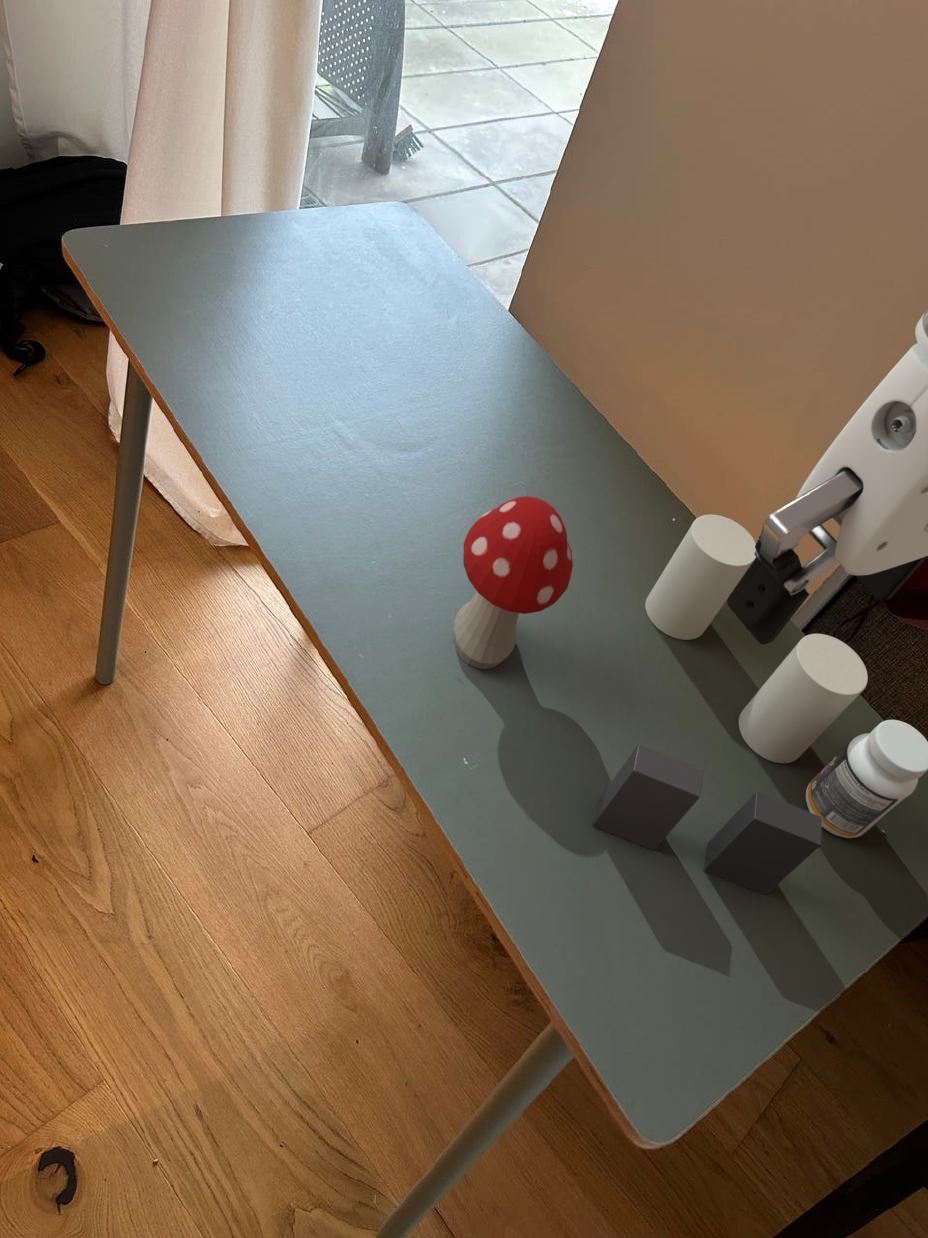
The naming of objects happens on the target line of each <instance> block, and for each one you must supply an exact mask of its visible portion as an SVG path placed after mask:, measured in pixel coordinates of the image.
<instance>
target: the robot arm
mask: <svg viewBox="0 0 928 1238" xmlns="http://www.w3.org/2000/svg"><path fill="white" fill-rule="evenodd" d="M914 335H915V340H916V343H915V344H913V345H912V346H911V347H910V348H909V350H907V351H906V353H905V354H904V355H903V356H902V357H901V358H900V360H898V362H896V364H895V365H894V367H892V369H891V370H890V371H889V372H888V373H887V375H886V376H885V377H884V378H883V379H881V381H880V382H879V384H878V385H877V386H876V387H875V389H874V390H873V391H872V392H871V393H870V395H869V396H868V397H867V398H866V399H865V401H864V402H862V404H861V406H860V407H859V408H858V410H857V411H856V412H855V413H854V414H853V416H852V417H851V418H850V419H849V421H848V422H847V423H846V425H845V426H844V427H843V429H841V430H840V432H839V433H838V434H837V436H836V438H835V439H834V440H833V442H831V444H830V445H829V446H828V448H827V450H826V451H825V452H824V453H823V455H822V456H821V458H820V459H819V461H818V462H817V463H816V465H815V466H814V467H813V469H812V471H811V472H810V473H809V475H808V477H807V478H806V480H805V482H804V483H803V485H802V486H801V487H800V489H799V491H798V493H797V495H796V498H795V499H793V500H792V501H790V502H788V503H787V504H785V505H783V506H781V507H779V508H777V509H776V510H775V511H773V512H772V513H770V514H769V515H768V516H767V517H766V518H765V519H764V520H763V523H762V527H761V532H760V535H759V536H758V539H757V541H756V542H755V543H756V545H755V549H756V551H755V553H754V554H755V556H756V558H755V560H754V561H753V563H752V564H751V565H750V567H749V568H748V570H747V571H746V573H745V574H744V575H743V577H742V578H741V580H740V581H739V583H738V584H737V585H736V587H735V588H734V590H733V591H732V593H731V594H730V596H729V597H728V599H727V600H726V603H727V606H728V608H729V609H730V611H731V612H732V613H733V614H734V615H735V616H736V617H737V618H738V620H739V621H740V623H742V625H743V626H744V627H745V628H746V629H747V630H748V632H749V633H750V634H751V636H753V637H754V640H756V641H757V642H758V644H759V645H767V644H770V643H772V642H774V641H775V640H776V638H777V637H778V636H779V635H780V633H781V632H782V631H783V629H784V628H785V627H786V626H787V624H788V623H789V622H790V620H791V619H793V617H794V616H795V614H796V613H797V611H798V610H799V609H800V608H801V606H802V605H803V604H804V602H805V601H806V600H807V599H808V597H809V596H810V595H811V594H809V592H808V591H807V589H806V588H807V587H808V586H810V585H811V584H812V583H814V582H815V581H816V580H817V579H819V578H820V577H821V576H822V575H823V574H825V573H826V572H827V571H828V570H830V569H831V568H833V567H834V566H835V565H836V564H837V563H838V564H839V565H841V566H842V567H843V571H844V572H845V573H846V574H848V575H851V576H855V577H856V578H857V580H858V581H859V582H860V583H861V584H862V585H863V586H864V587H865V588H866V589H867V590H868V591H869V593H870V594H871V595H872V596H873V597H875V599H876V600H878V601H880V602H884V601H888V600H890V599H892V598H893V597H894V596H895V594H896V593H897V592H898V591H899V590H900V589H901V588H902V586H903V585H904V584H905V583H906V582H907V581H908V580H909V578H910V577H911V576H912V575H913V574H914V572H916V570H917V569H918V568H919V567H920V566H921V564H923V562H924V561H925V560H926V559H927V558H928V308H927V309H926V310H925V312H923V314H922V316H921V317H920V319H919V320H918V321H917V322H916V325H915V328H914ZM831 519H833V520H834V521H835V523H837V524H838V526H840V527H839V532H838V535H837V539H836V538H835V537H834V536H833V535H832V534H831V532H829V531H828V529H826V528H825V527H824V526H823V524H824V523H826V522H828V521H830V520H831ZM807 534H809V535H810V536H811V538H813V539H814V540H815V541H816V543H817V544H818V545H819V546H820V547H821V548H822V551H821V552H820V553H818V554H816V556H814V557H813V558H811V559H810V560H809V561H808V562H807V563H805V564H804V565H802V563H801V560H800V556H799V555H798V554H797V552H796V551H795V548H797V547H798V545H799V543H800V541H801V540H802V539H803V537H805V535H807Z"/></svg>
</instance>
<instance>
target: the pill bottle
mask: <svg viewBox="0 0 928 1238" xmlns="http://www.w3.org/2000/svg"><path fill="white" fill-rule="evenodd" d="M926 772H928V740H927V738H926V737H925V736H924V735H923V734H922V733H921V732H920V731H919V730H917V728H915V727H913V726H912V725H910V724H909V723H908V722H904V721H901V720H897V719H887V720H883V721H882V722H880V723H879V724H877V725H876V726H875V727H874V728H873V729H872V730H871V731H870V732H867V733H862V734H859V735H857V736H855V737H853V738H852V739H851V740H850V741H849V742H848V743H847V744H846V745H845V746H844V747H843V748H842V749H841V751H839V752H838V753H837V754H836V755H835V756H834V757H833V758H832V760H830V761H829V762H828V763H827V764H826V765H825V766H824V767H823V768H822V769H821V770H820V771H819V772H818V773H817V774H816V775H815V777H813V779H812V780H811V781H810V782H809V783H808V785H807V787H806V791H805V802H806V806H807V808H808V812H810V813H813V814H815V815H818V816H820V817H822V829H824V830H825V831H827V832H828V833H830V834H832V835H834V836H837V837H840V838H845V839H853V838H855V839H856V838H859V837H861V836H862V835H865V833H867V832H868V831H869V830H870V829H872V828H873V827H874V826H876V825H877V824H878V823H879V822H881V820H882V819H884V818H885V817H886V816H887V815H888V814H889V813H890V812H891V811H893V810H894V809H895V808H897V807H898V806H899V805H900V804H902V803H903V802H904V801H905V800H906V799H907V798H908V797H910V796H911V795H912V794H913V793H914V791H915V790H916V788H917V786H918V783H919V778H921V777H923V775H925V774H926Z"/></svg>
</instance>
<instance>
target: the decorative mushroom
mask: <svg viewBox="0 0 928 1238" xmlns="http://www.w3.org/2000/svg"><path fill="white" fill-rule="evenodd" d="M573 563H574V562H573V552H572V549H571V546H570V543H569V541H568V533H567V529H566V527H565V524H564V521H563V519H562V517H561V515H560V514H559V512H558V511H557V510H556V509H555V507H553V506H552V505H551V504H549V502H547V501H545V500H543V499H541V498H539V497H536V496H531V495H525V496H516V497H513V498H511V499H509V500H507V501H505V502H502V503H501V504H500V505H498V506H497V507H496V508H494V509H491V510H489V511H486V512H484V513H483V514H482V515H481V516H480V517H479V518H478V519H477V520H476V521H475V522H474V523H473V524H472V526H471V527H469V530H468V531H467V534H466V536H465V538H464V541H463V563H462V564H463V567H464V571H465V574H466V576H467V580H468V581H469V583H470V584H471V585H472V587H473V588H474V589H475V591H476V592H475V594H474V596H472V598H471V599H470V600H468V602H466V603H465V604H463V605H462V606H461V608H460V609H459V610H458V612H457V613H456V615H455V618H454V620H453V644H454V647H455V651H456V653H457V654H458V656H459V657H460V659H461V660H462V661H463V662H465V663H466V664H467V665H468V666H471V667H473V668H475V669H480V670H488V669H493V668H495V667H497V666H498V665H499V664H501V663H502V662H504V661H505V660H506V659H507V658H508V657H510V655H511V653H512V652H513V651H514V649H515V648H516V647H515V645H516V643H517V625H518V619H519V615H520V614H523V615H527V614H533V613H540V612H543V611H544V610H546V609H548V608H550V607H551V606H553V605H554V604H555V603H556V602H557V601H558V600H559V599H560V598H561V597H562V596H563V594H564V593H565V592H567V590H568V587H569V584H570V580H571V577H572V572H573V567H574V564H573Z"/></svg>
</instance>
